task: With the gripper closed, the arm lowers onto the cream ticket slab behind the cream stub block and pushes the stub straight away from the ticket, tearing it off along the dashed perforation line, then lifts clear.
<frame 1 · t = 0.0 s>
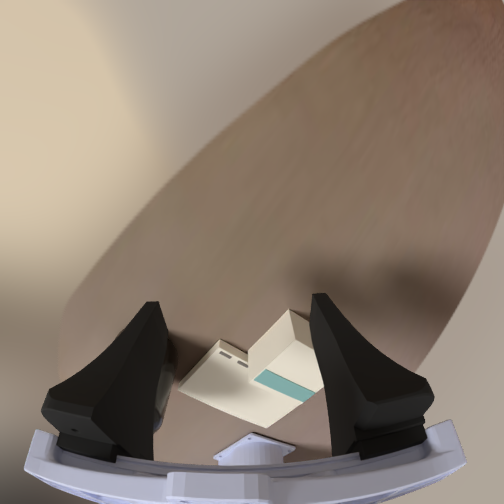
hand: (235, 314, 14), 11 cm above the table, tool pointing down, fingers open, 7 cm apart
stub: (291, 343, 28), on the table
supplement bottle: (147, 348, 28), on the table
ticket: (245, 386, 30), on the table
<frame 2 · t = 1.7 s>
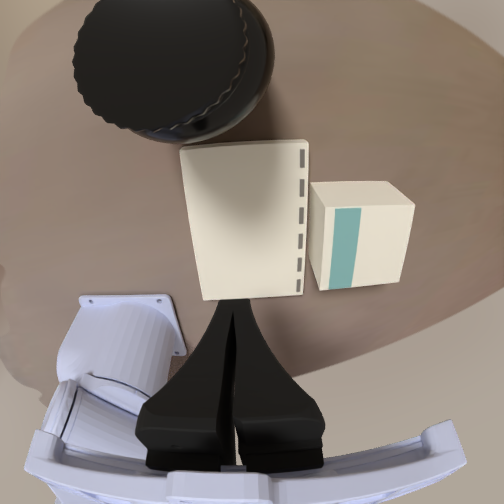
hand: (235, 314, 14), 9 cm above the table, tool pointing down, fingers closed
stub: (347, 218, 22), on the table
supplement bottle: (207, 69, 16), on the table
ticket: (248, 223, 22), on the table
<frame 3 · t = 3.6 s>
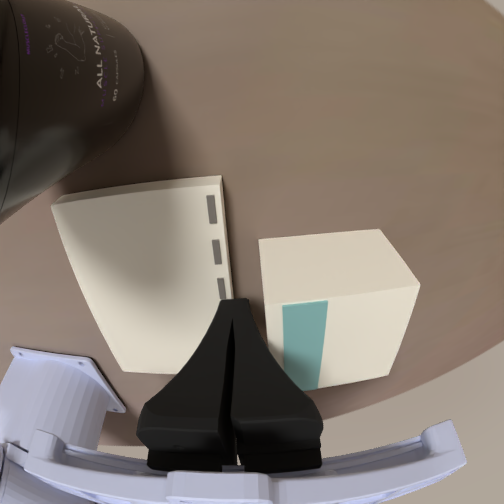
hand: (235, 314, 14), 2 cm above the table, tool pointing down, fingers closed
stub: (319, 283, 16), on the table, touching gripper
supplement bottle: (79, 85, 10), on the table
ticket: (158, 290, 15), on the table
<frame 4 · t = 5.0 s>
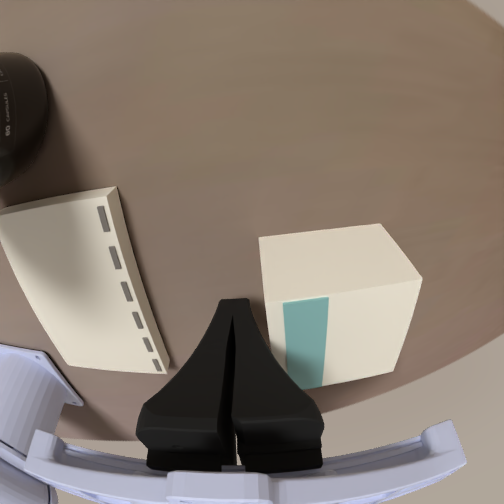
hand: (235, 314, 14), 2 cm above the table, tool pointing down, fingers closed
stub: (321, 280, 15), on the table, touching gripper
supplement bottle: (8, 114, 10), on the table
ticket: (84, 292, 15), on the table
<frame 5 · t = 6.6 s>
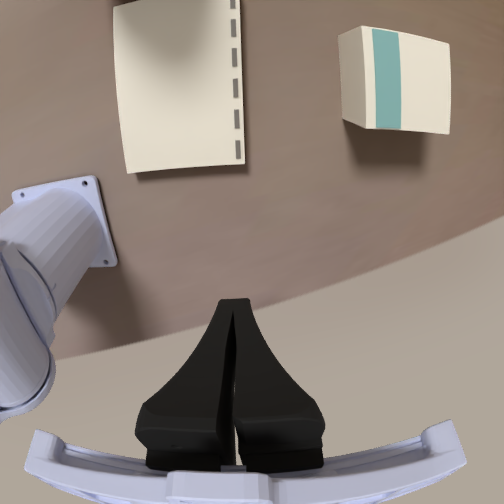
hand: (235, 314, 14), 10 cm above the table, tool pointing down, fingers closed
stub: (379, 79, 17), on the table
ticket: (179, 77, 16), on the table
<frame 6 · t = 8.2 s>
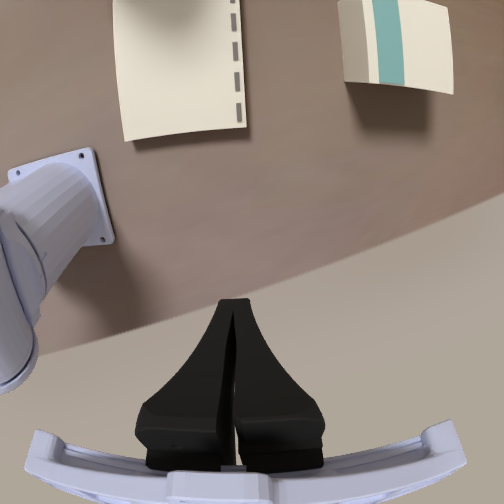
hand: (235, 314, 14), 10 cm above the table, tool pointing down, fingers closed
stub: (380, 45, 15), on the table
ticket: (178, 45, 15), on the table
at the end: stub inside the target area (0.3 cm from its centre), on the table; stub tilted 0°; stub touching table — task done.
